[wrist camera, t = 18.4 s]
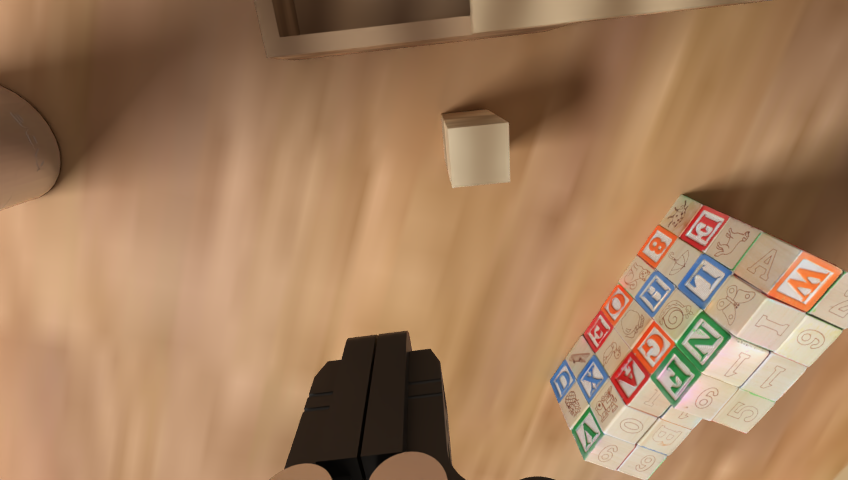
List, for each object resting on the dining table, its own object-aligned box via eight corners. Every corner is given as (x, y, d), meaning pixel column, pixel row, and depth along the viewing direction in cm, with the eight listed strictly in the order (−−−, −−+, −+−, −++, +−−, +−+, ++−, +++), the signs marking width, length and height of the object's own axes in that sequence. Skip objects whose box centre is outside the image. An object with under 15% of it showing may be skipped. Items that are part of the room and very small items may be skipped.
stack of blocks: (600, 399, 43) (665, 519, 31) (547, 380, 42) (595, 496, 30) (739, 220, 36) (891, 291, 24) (680, 190, 34) (808, 251, 23)
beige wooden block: (444, 159, 33) (452, 187, 25) (441, 113, 32) (447, 128, 24) (488, 155, 33) (510, 182, 25) (486, 109, 32) (508, 122, 24)
